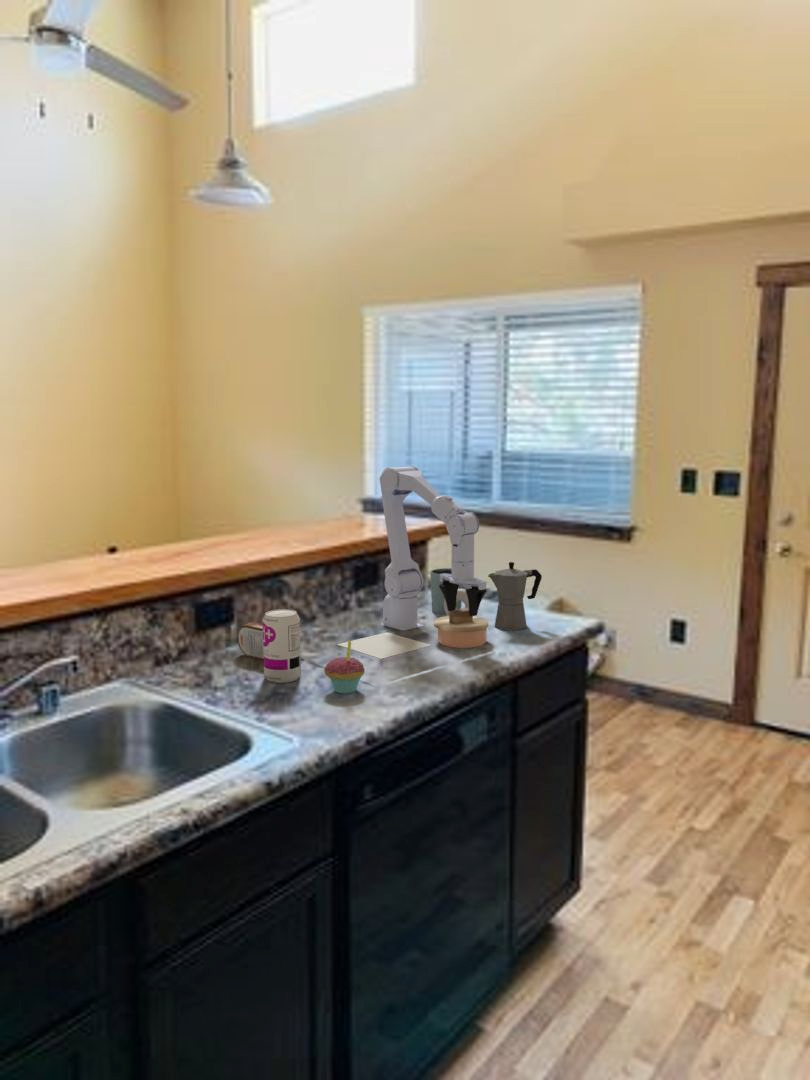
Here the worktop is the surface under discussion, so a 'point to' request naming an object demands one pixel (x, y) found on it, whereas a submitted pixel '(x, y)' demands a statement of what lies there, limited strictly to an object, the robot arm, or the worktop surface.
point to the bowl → (462, 638)
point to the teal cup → (437, 593)
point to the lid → (460, 622)
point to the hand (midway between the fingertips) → (462, 613)
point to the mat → (384, 645)
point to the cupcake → (344, 672)
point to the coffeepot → (512, 596)
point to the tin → (251, 640)
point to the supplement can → (281, 646)
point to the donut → (460, 596)
